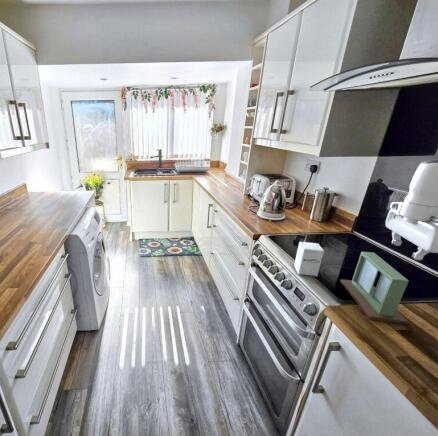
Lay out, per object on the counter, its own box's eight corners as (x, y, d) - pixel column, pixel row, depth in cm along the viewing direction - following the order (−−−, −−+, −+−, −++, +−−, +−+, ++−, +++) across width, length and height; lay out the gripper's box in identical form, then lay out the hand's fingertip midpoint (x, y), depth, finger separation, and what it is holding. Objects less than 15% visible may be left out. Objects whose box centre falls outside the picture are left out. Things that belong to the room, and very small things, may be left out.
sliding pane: (389, 296, 85) (399, 270, 81) (404, 311, 78) (417, 283, 74) (373, 294, 86) (382, 268, 82) (386, 309, 79) (398, 281, 75)
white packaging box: (298, 274, 103) (303, 248, 99) (293, 265, 110) (299, 241, 105) (317, 277, 101) (324, 250, 97) (312, 267, 108) (318, 242, 103)
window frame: (369, 284, 95) (381, 251, 90) (407, 324, 76) (425, 285, 71) (340, 281, 98) (349, 248, 92) (369, 319, 79) (384, 280, 74)
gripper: (467, 225, 63) (445, 270, 68) (410, 202, 81) (396, 239, 86) (436, 223, 64) (417, 267, 69) (387, 201, 83) (375, 237, 88)
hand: (405, 251), depth 78 cm, fingers open, 8 cm apart
